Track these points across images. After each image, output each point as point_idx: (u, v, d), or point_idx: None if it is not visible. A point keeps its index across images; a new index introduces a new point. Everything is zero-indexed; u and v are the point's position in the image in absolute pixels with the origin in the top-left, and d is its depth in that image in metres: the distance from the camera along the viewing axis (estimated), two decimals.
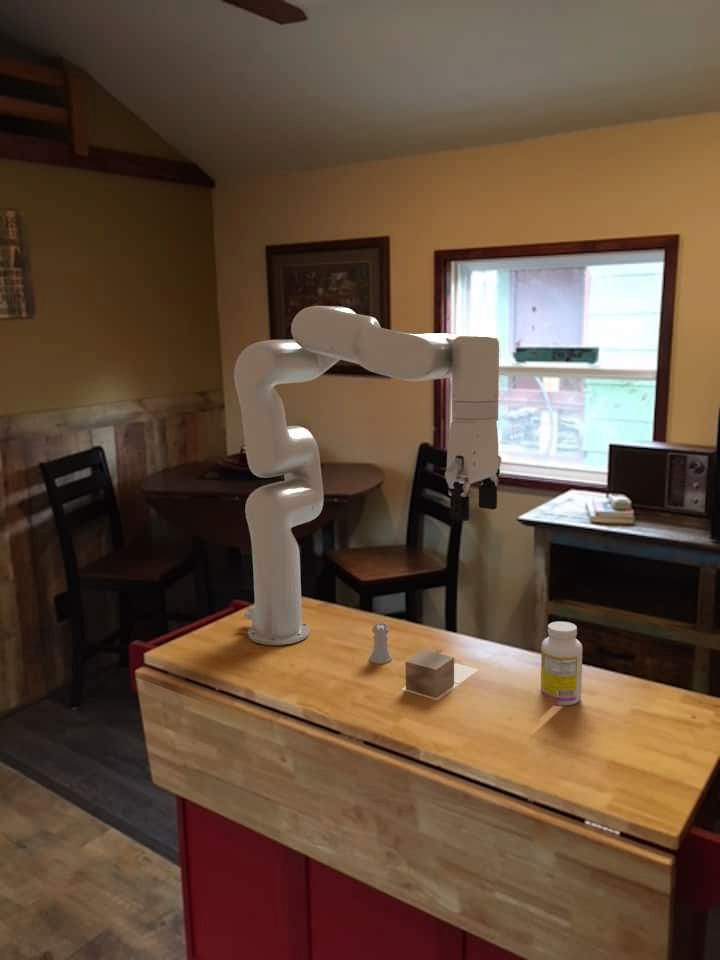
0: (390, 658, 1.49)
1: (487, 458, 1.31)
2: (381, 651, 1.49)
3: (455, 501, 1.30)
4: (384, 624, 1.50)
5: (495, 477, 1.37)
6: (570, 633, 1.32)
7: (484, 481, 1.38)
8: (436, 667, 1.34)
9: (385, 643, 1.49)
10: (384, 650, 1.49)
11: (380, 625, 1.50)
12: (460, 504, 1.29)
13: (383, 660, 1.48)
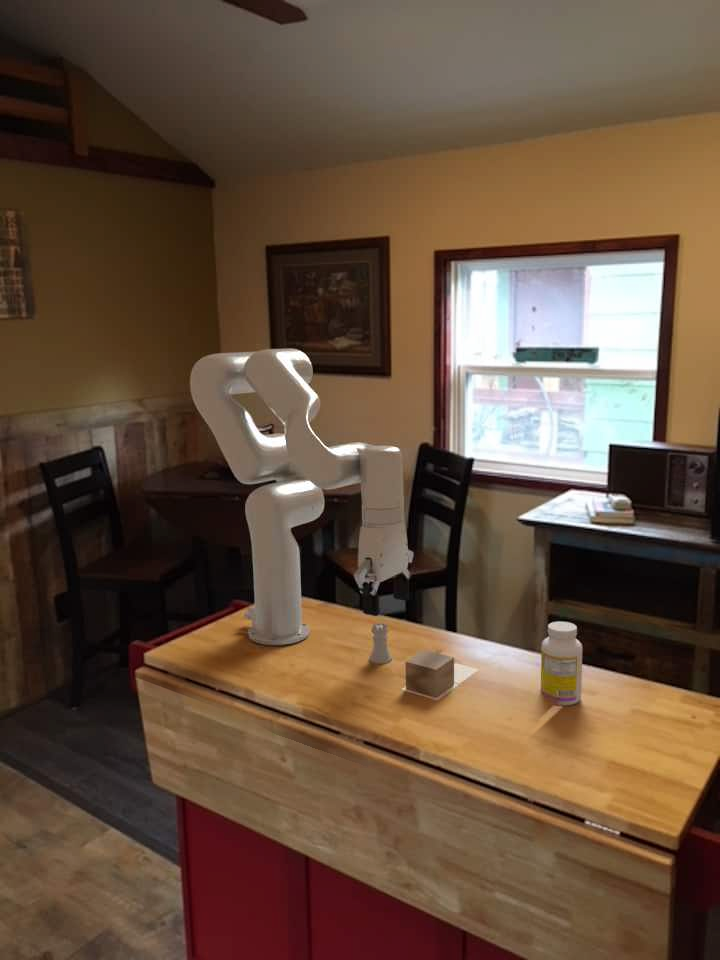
0: (390, 658, 1.49)
1: (395, 557, 1.44)
2: (381, 651, 1.49)
3: (365, 598, 1.42)
4: (383, 624, 1.50)
5: (406, 571, 1.50)
6: (570, 633, 1.32)
7: (397, 575, 1.51)
8: (436, 667, 1.34)
9: (385, 643, 1.49)
10: (383, 650, 1.49)
11: (379, 625, 1.50)
12: (370, 601, 1.42)
13: (383, 660, 1.48)
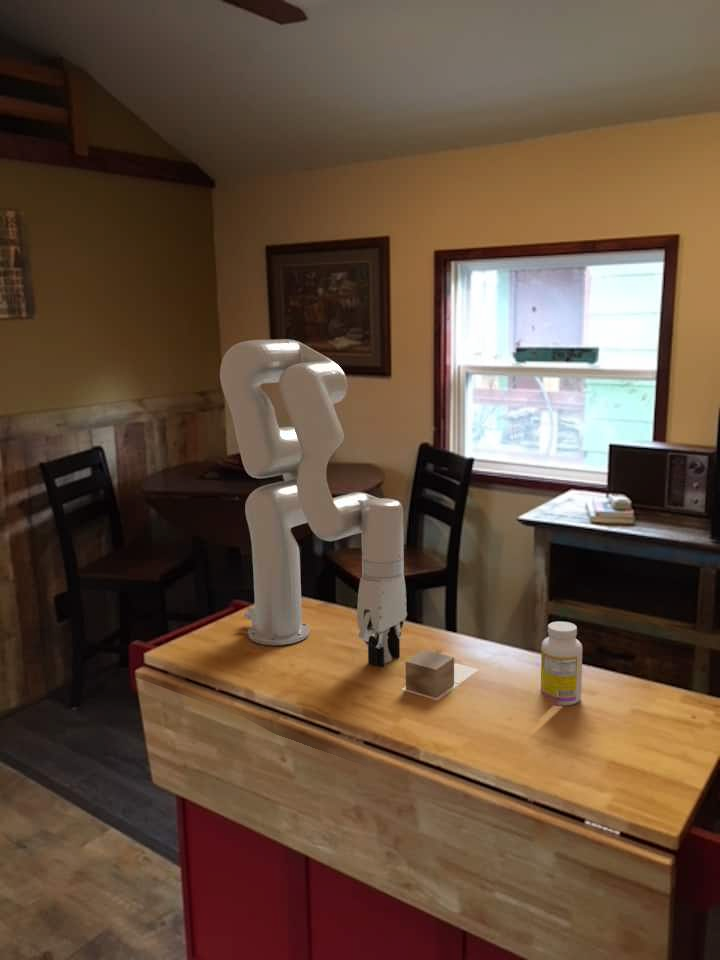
0: (390, 658, 1.49)
1: (394, 609, 1.46)
2: None
3: (371, 651, 1.47)
4: None
5: (397, 630, 1.50)
6: (570, 633, 1.32)
7: None
8: (436, 667, 1.34)
9: (385, 643, 1.49)
10: (384, 650, 1.49)
11: None
12: (376, 654, 1.46)
13: (384, 659, 1.48)
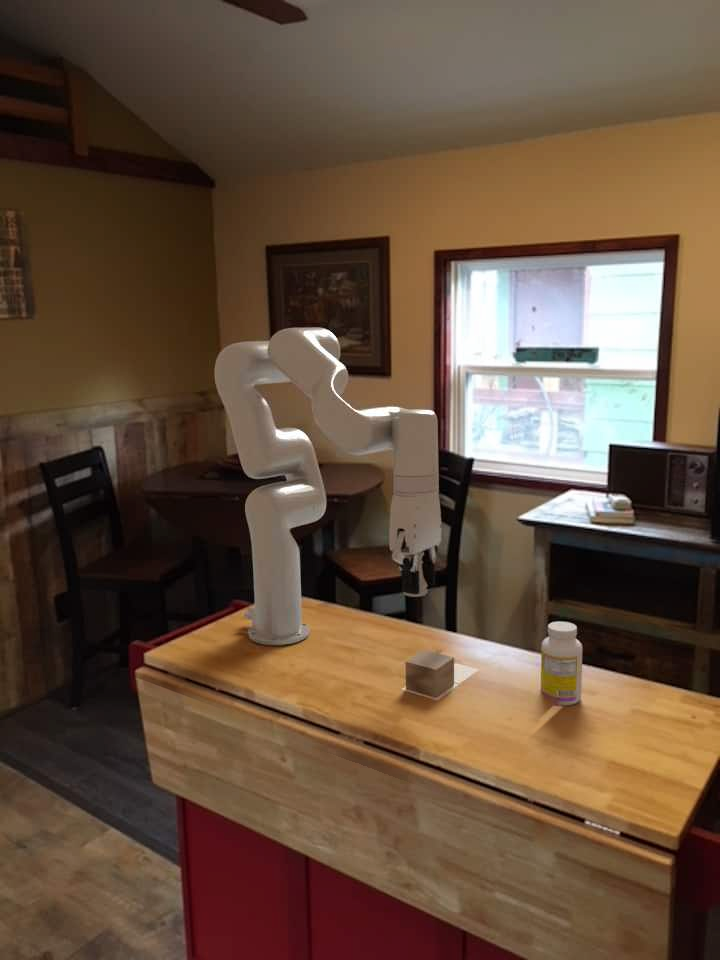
0: (425, 584, 1.38)
1: (429, 529, 1.35)
2: None
3: (405, 576, 1.35)
4: None
5: (432, 555, 1.38)
6: (570, 633, 1.32)
7: None
8: (436, 667, 1.34)
9: (420, 567, 1.37)
10: (419, 575, 1.37)
11: None
12: (410, 579, 1.34)
13: (419, 585, 1.37)
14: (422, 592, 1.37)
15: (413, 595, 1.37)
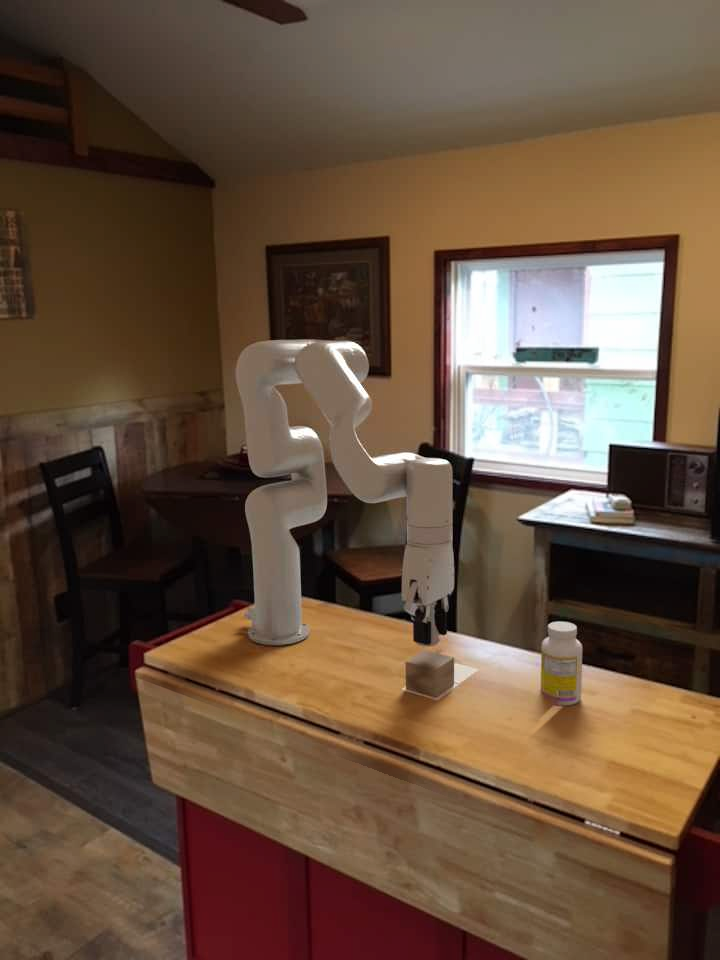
0: (437, 633, 1.36)
1: (442, 579, 1.33)
2: None
3: (417, 626, 1.33)
4: None
5: (445, 604, 1.37)
6: (570, 633, 1.32)
7: None
8: (436, 667, 1.34)
9: (432, 617, 1.36)
10: (431, 624, 1.35)
11: None
12: (422, 629, 1.33)
13: (431, 635, 1.35)
14: (434, 642, 1.35)
15: (425, 645, 1.35)
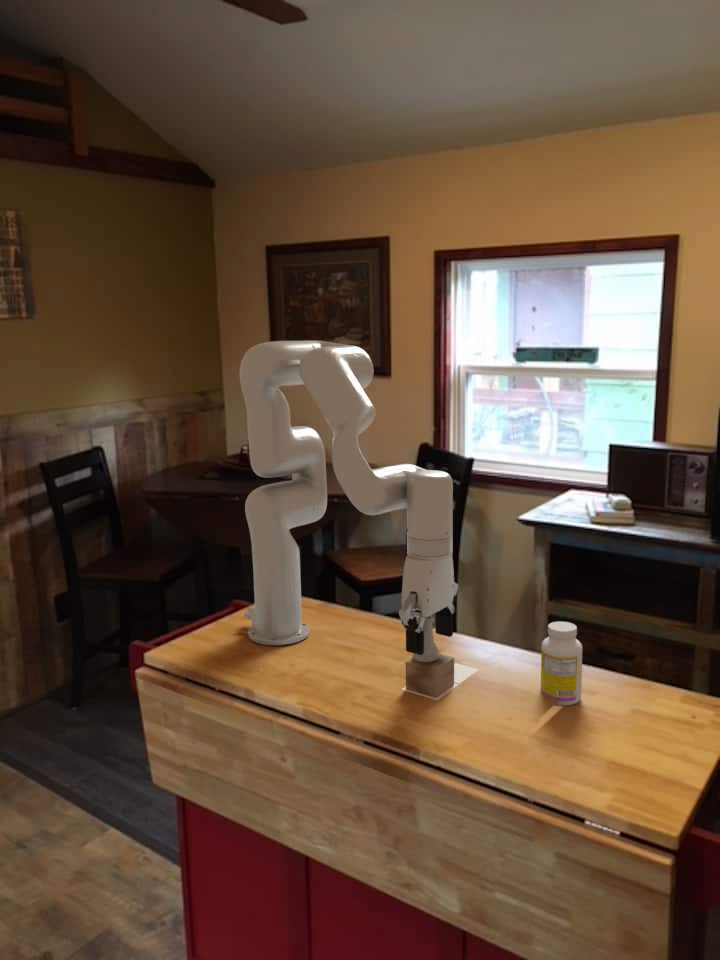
0: (436, 650, 1.37)
1: (442, 591, 1.34)
2: (426, 643, 1.36)
3: (410, 636, 1.32)
4: None
5: (451, 606, 1.39)
6: (570, 633, 1.32)
7: None
8: (436, 667, 1.34)
9: (431, 633, 1.36)
10: (429, 641, 1.36)
11: None
12: (415, 639, 1.31)
13: (429, 652, 1.36)
14: (433, 658, 1.36)
15: (424, 661, 1.36)
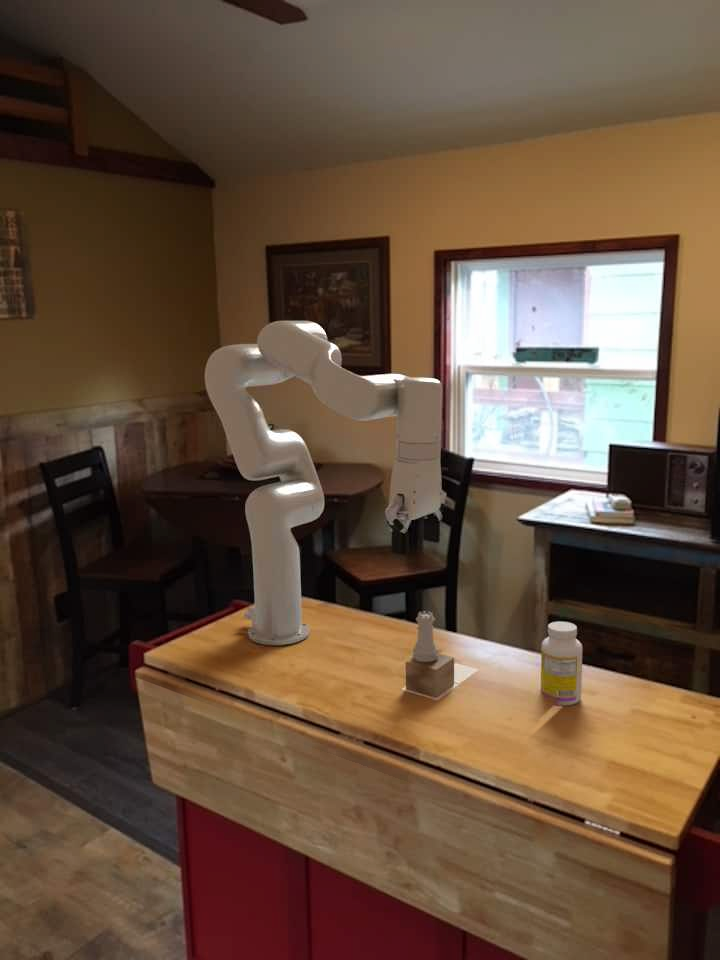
0: (436, 650, 1.37)
1: (428, 496, 1.37)
2: (426, 643, 1.36)
3: (395, 537, 1.36)
4: (429, 613, 1.37)
5: (438, 512, 1.43)
6: (570, 633, 1.32)
7: (428, 515, 1.44)
8: (436, 667, 1.34)
9: (431, 633, 1.36)
10: (429, 641, 1.36)
11: (424, 614, 1.37)
12: (400, 540, 1.35)
13: (429, 652, 1.36)
14: (433, 658, 1.36)
15: (424, 661, 1.36)
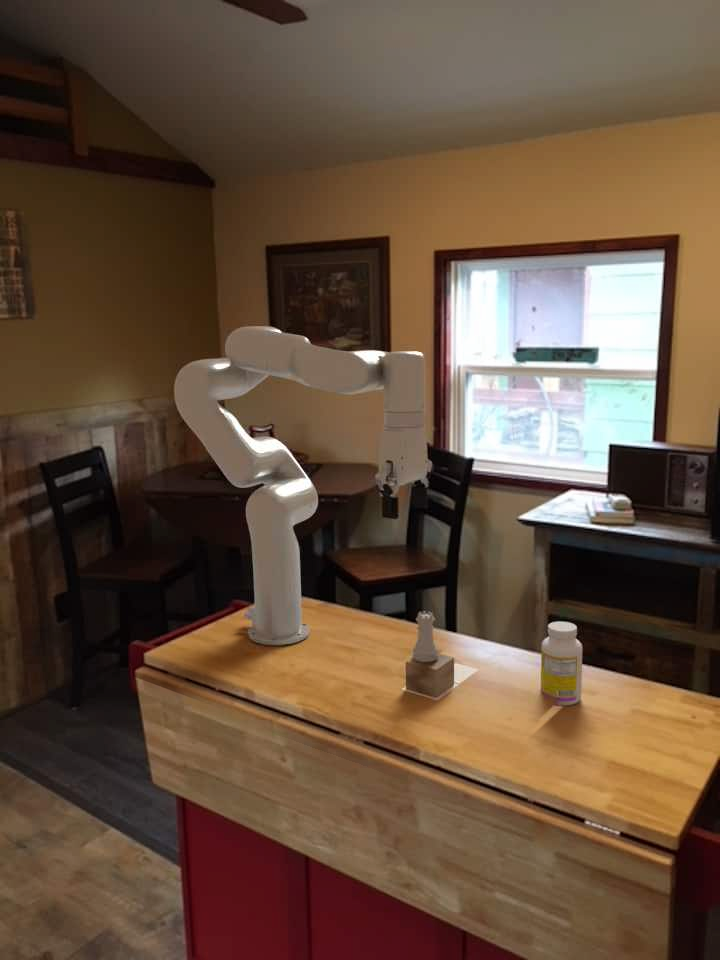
0: (436, 650, 1.37)
1: (415, 462, 1.46)
2: (426, 643, 1.36)
3: (385, 501, 1.44)
4: (429, 613, 1.37)
5: (425, 479, 1.51)
6: (570, 633, 1.32)
7: (416, 483, 1.52)
8: (436, 667, 1.34)
9: (431, 633, 1.36)
10: (429, 641, 1.36)
11: (424, 614, 1.37)
12: (390, 504, 1.43)
13: (429, 652, 1.36)
14: (433, 658, 1.36)
15: (424, 661, 1.36)
